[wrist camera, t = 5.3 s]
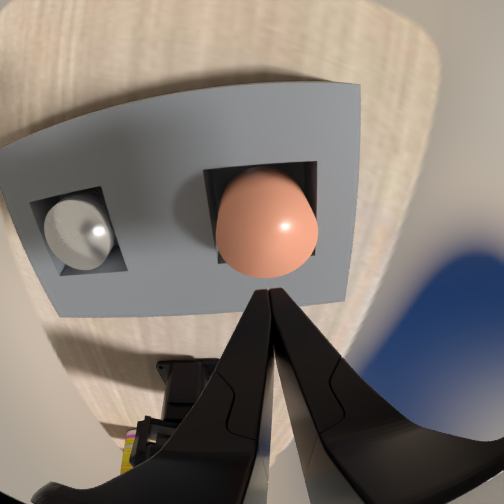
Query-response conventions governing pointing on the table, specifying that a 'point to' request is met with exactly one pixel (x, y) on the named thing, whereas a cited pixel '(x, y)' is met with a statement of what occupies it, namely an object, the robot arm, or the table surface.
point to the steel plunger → (80, 229)
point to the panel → (188, 194)
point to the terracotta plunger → (265, 223)
